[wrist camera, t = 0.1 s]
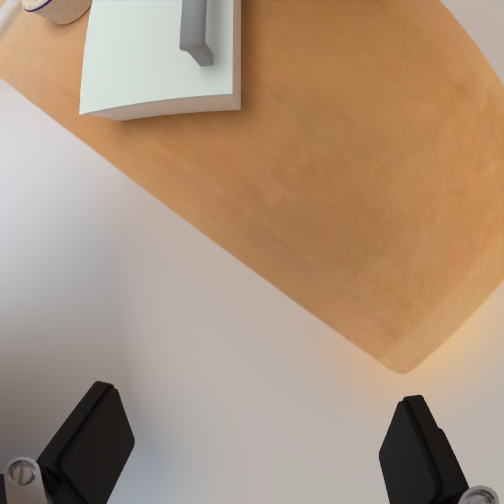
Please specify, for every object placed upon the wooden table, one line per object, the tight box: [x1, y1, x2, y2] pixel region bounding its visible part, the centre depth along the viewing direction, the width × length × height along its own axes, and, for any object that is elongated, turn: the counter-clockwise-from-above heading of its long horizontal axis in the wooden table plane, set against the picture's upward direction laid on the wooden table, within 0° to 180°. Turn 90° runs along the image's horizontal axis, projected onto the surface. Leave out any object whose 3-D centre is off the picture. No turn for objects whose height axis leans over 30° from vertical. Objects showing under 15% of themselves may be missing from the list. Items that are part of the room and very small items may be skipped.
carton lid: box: [80, 0, 235, 115], centre depth 21 cm, size 18×16×7 cm
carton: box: [89, 0, 241, 121], centre depth 29 cm, size 18×16×9 cm
